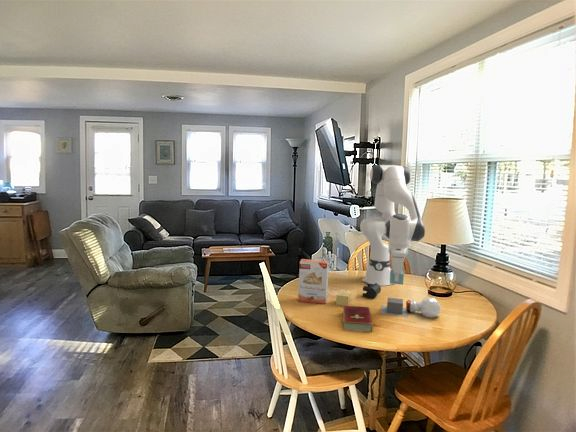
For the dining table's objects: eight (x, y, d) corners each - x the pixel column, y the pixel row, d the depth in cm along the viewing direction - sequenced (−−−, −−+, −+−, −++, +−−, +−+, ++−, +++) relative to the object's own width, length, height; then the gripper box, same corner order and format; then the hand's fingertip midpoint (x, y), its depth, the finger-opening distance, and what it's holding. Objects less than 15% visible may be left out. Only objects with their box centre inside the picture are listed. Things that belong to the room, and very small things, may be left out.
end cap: (375, 301, 209) (376, 288, 208) (362, 299, 213) (362, 286, 212) (380, 296, 218) (381, 283, 217) (367, 293, 221) (368, 281, 221)
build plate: (382, 307, 200) (382, 305, 200) (407, 310, 197) (407, 308, 197) (380, 315, 189) (380, 313, 189) (407, 318, 186) (408, 316, 186)
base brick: (387, 307, 197) (387, 297, 197) (402, 309, 195) (402, 299, 195) (386, 312, 190) (387, 302, 190) (402, 314, 189) (402, 303, 188)
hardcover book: (369, 315, 190) (369, 306, 190) (372, 333, 170) (372, 323, 169) (343, 313, 192) (343, 304, 191) (343, 330, 171) (343, 321, 171)
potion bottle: (441, 323, 185) (407, 320, 193) (444, 306, 191) (411, 304, 199) (437, 311, 180) (403, 308, 187) (440, 293, 186) (407, 291, 194)
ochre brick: (337, 301, 208) (338, 291, 207) (349, 302, 206) (350, 293, 206) (335, 304, 202) (336, 295, 202) (348, 306, 201) (348, 296, 200)
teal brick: (389, 280, 195) (390, 269, 194) (403, 281, 193) (403, 270, 193) (389, 283, 189) (390, 272, 188) (403, 284, 188) (403, 274, 187)
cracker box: (297, 301, 205) (299, 261, 202) (300, 298, 211) (301, 258, 208) (325, 304, 202) (327, 263, 199) (327, 300, 208) (328, 260, 205)
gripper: (391, 245, 200) (390, 273, 202) (390, 253, 181) (389, 283, 182) (405, 246, 199) (403, 274, 200) (405, 254, 179) (403, 285, 180)
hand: (396, 278), depth 191 cm, fingers closed on teal brick, 6 cm apart
